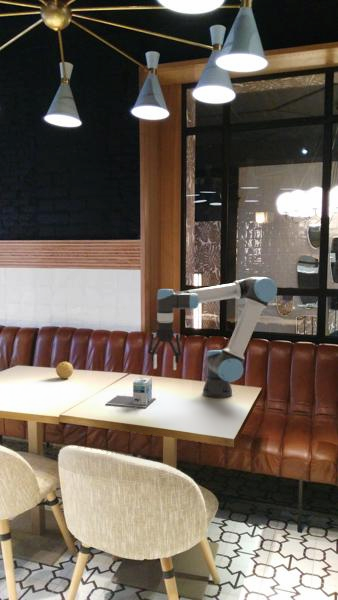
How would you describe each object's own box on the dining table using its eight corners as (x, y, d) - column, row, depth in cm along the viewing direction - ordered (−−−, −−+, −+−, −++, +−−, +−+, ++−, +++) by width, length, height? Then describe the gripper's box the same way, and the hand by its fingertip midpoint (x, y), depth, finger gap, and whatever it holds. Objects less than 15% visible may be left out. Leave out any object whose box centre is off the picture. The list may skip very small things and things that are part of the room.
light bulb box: (146, 405, 224) (146, 382, 223) (132, 404, 226) (132, 382, 225) (152, 399, 234) (152, 377, 234) (139, 398, 236) (139, 377, 235)
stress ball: (67, 377, 286) (54, 367, 284) (77, 366, 285) (64, 355, 283) (64, 384, 276) (51, 374, 275) (75, 372, 275) (61, 361, 273)
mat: (155, 399, 237) (155, 398, 237) (145, 408, 221) (145, 407, 221) (117, 396, 242) (117, 395, 242) (105, 405, 226) (105, 403, 226)
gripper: (189, 321, 225) (189, 368, 227) (145, 320, 231) (145, 366, 232) (185, 323, 218) (185, 372, 220) (140, 321, 224) (140, 369, 225)
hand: (165, 368), depth 226 cm, fingers open, 9 cm apart
